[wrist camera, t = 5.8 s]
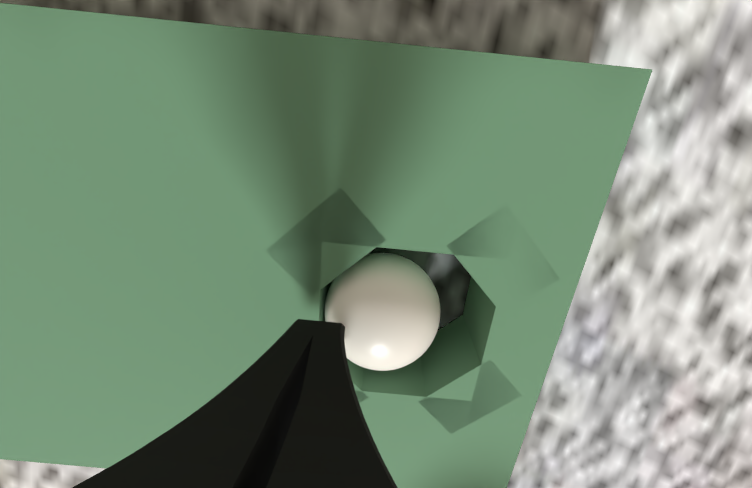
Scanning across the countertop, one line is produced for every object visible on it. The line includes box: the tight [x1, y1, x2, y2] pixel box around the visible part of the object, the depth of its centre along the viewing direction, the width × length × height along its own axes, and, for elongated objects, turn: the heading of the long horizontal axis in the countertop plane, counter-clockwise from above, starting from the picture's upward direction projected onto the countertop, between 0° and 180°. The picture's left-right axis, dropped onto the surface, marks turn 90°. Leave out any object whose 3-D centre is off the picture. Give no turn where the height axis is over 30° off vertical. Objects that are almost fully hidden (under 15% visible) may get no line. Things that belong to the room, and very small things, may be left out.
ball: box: [325, 253, 440, 371], centre depth 12 cm, size 4×4×4 cm
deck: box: [0, 3, 652, 488], centre depth 13 cm, size 22×16×3 cm
